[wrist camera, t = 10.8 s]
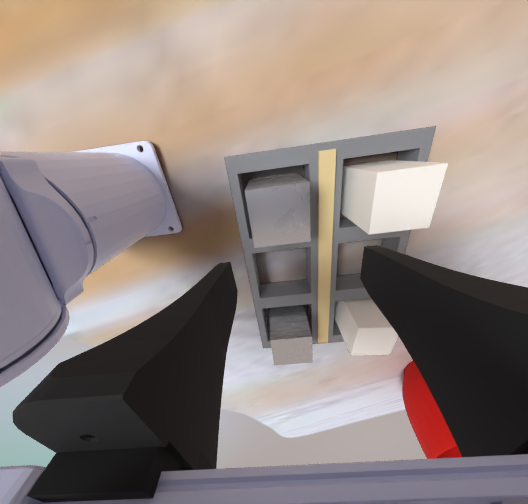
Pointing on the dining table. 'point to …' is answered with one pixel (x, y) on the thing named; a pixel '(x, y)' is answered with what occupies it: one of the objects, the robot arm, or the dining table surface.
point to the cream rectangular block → (364, 327)
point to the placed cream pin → (391, 194)
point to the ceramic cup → (427, 417)
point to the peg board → (319, 225)
